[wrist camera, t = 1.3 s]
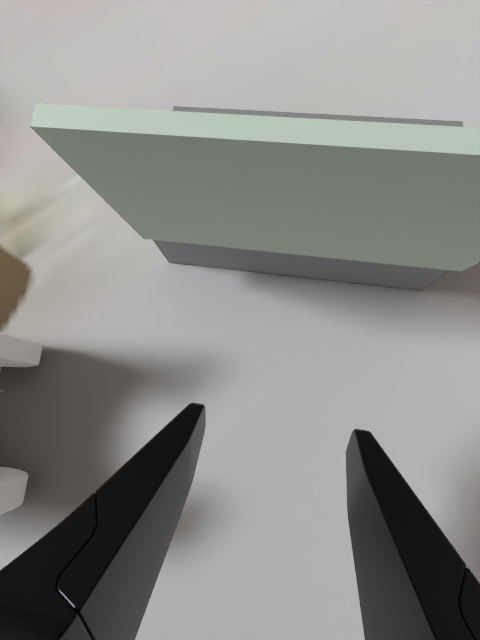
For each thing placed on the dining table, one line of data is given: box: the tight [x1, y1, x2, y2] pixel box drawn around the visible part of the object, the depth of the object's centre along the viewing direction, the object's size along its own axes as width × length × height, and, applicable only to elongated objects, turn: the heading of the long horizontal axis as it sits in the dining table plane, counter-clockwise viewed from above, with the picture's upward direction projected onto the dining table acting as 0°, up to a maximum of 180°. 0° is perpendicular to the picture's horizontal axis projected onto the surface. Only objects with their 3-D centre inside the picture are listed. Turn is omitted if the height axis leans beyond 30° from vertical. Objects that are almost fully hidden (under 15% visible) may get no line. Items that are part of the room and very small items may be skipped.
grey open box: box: [153, 106, 463, 290], centre depth 22 cm, size 9×18×5 cm, turn 81°
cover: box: [30, 103, 480, 272], centre depth 14 cm, size 9×18×1 cm
